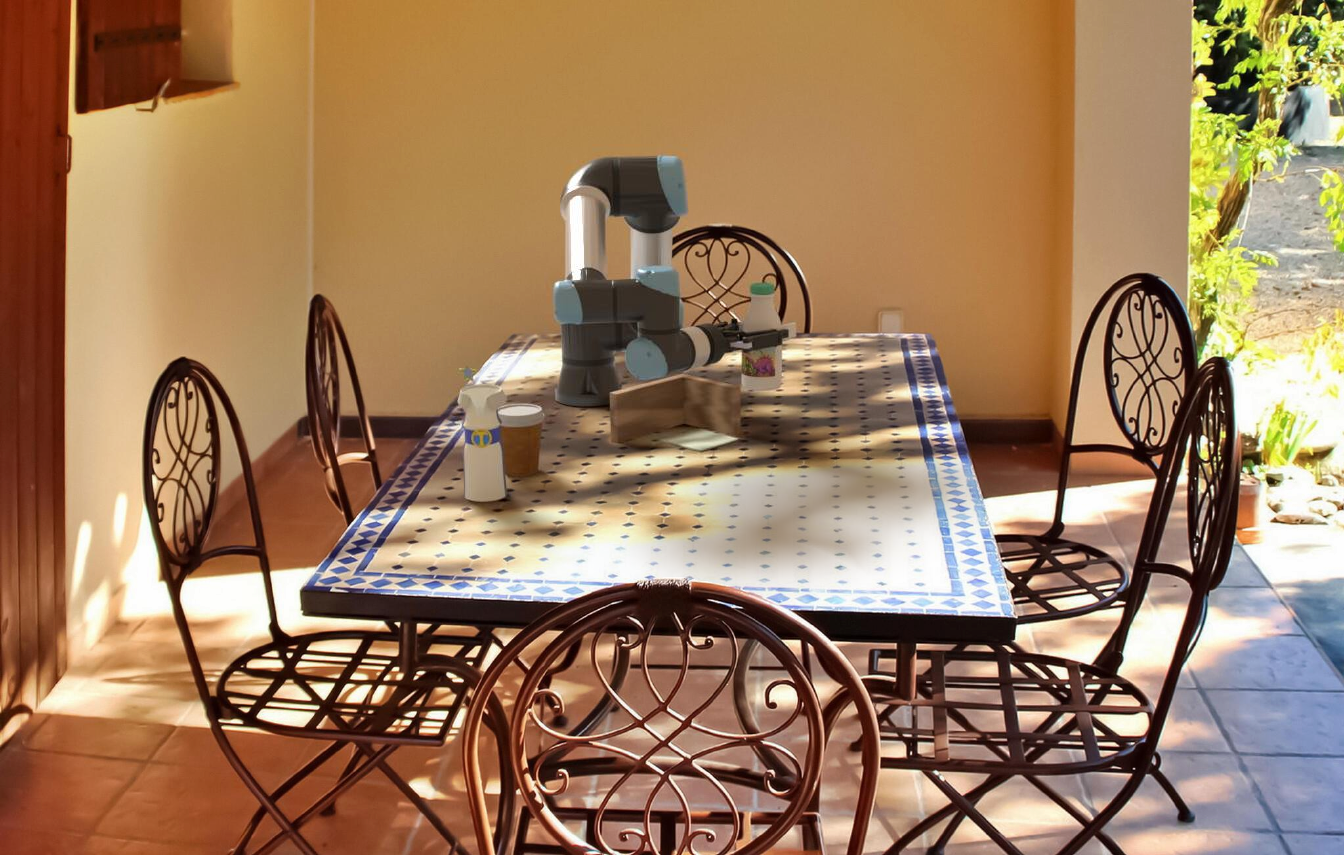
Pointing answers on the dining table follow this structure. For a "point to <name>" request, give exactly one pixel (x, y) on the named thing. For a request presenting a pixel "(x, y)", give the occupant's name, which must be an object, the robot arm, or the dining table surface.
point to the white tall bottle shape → (482, 440)
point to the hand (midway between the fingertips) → (778, 326)
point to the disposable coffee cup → (521, 437)
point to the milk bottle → (764, 363)
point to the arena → (678, 411)
